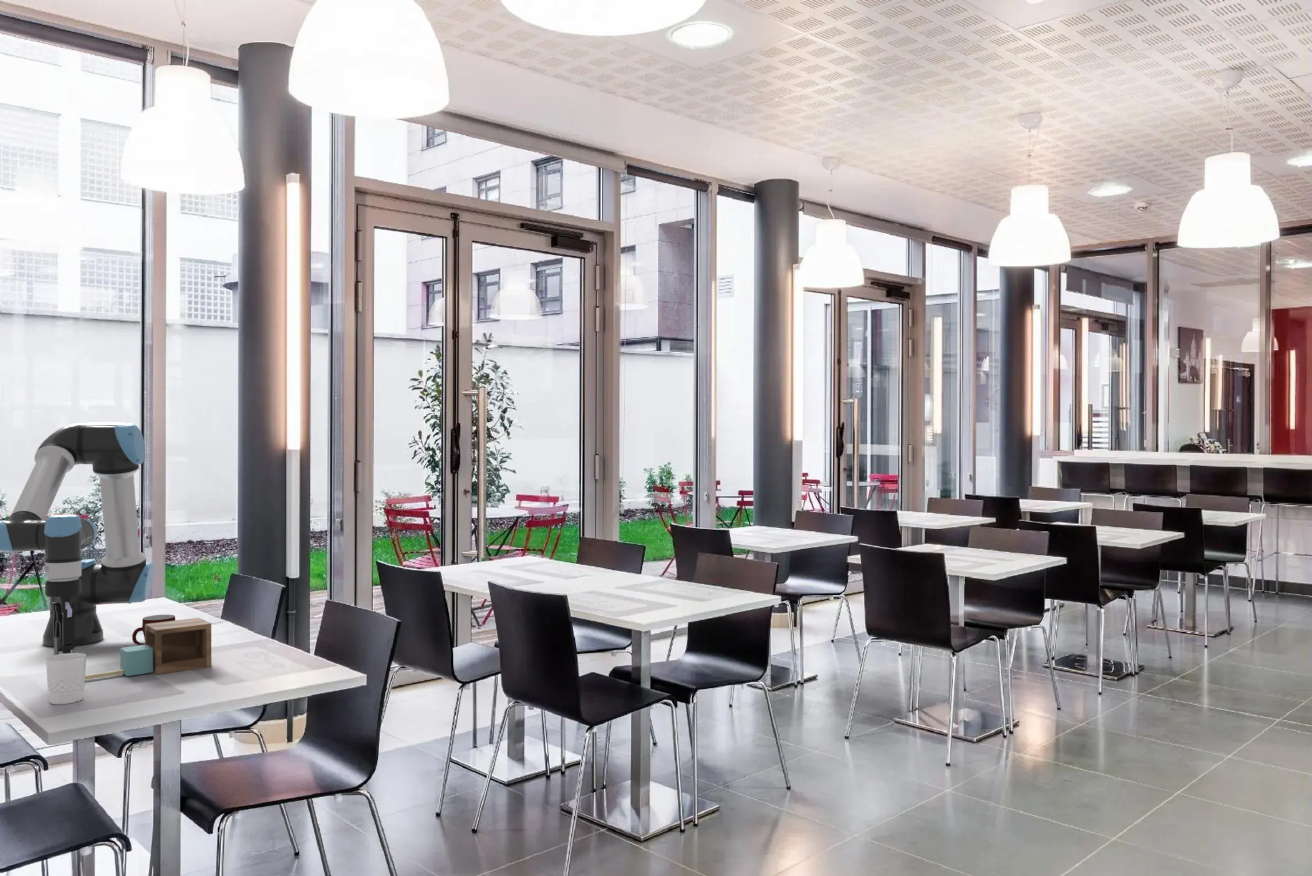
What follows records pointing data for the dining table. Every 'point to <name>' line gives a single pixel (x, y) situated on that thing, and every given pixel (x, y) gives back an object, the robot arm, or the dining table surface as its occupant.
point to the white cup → (66, 677)
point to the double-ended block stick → (125, 661)
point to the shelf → (179, 645)
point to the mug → (147, 621)
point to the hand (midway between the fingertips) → (64, 675)
